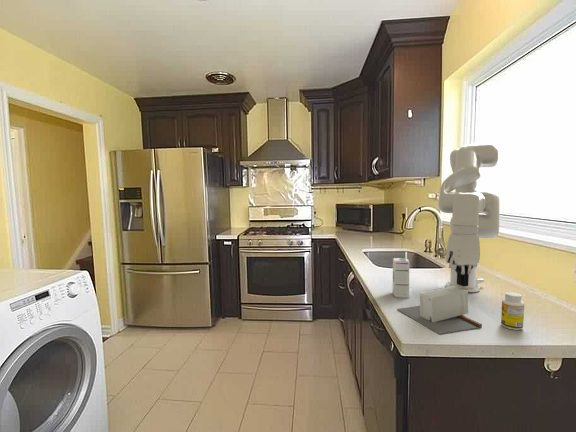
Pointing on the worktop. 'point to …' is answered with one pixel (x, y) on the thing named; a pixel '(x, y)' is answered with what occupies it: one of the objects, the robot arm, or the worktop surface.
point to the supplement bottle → (512, 311)
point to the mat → (438, 322)
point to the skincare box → (443, 303)
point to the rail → (470, 321)
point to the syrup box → (401, 277)
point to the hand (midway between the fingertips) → (462, 285)
